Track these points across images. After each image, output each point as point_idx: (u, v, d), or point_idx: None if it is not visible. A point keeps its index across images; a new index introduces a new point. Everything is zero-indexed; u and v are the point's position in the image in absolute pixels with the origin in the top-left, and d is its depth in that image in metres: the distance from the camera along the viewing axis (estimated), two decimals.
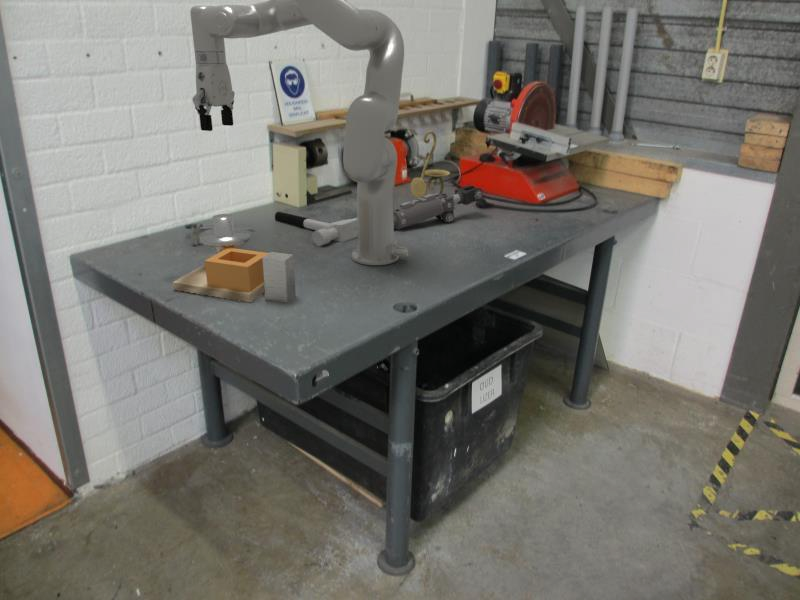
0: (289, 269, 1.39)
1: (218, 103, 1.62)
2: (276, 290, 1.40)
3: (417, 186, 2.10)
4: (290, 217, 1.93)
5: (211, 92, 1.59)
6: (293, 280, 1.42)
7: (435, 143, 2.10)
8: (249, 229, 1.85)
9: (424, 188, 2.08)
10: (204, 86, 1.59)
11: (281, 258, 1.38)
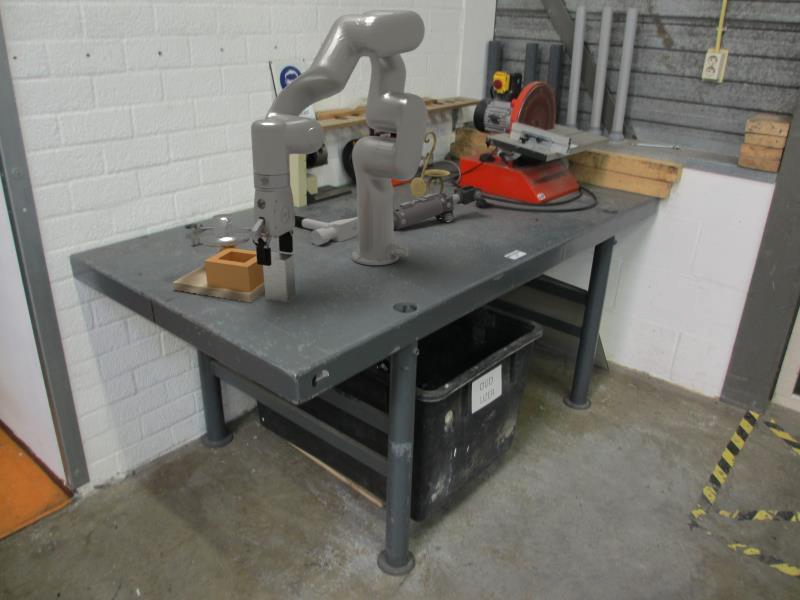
0: (289, 269, 1.39)
1: (279, 233, 1.33)
2: (275, 290, 1.40)
3: (417, 186, 2.10)
4: None
5: (273, 222, 1.30)
6: (293, 280, 1.42)
7: (435, 143, 2.10)
8: (249, 229, 1.85)
9: (424, 188, 2.08)
10: (264, 215, 1.30)
11: (281, 258, 1.38)
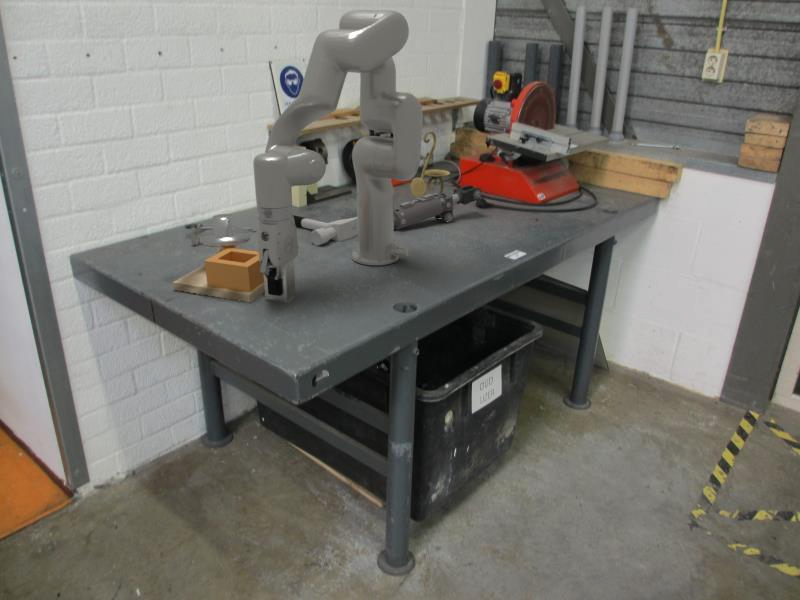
0: (289, 269, 1.39)
1: (283, 263, 1.36)
2: None
3: (417, 186, 2.10)
4: None
5: (276, 254, 1.33)
6: (293, 280, 1.42)
7: (435, 143, 2.10)
8: (249, 229, 1.86)
9: (424, 188, 2.08)
10: (268, 247, 1.33)
11: None
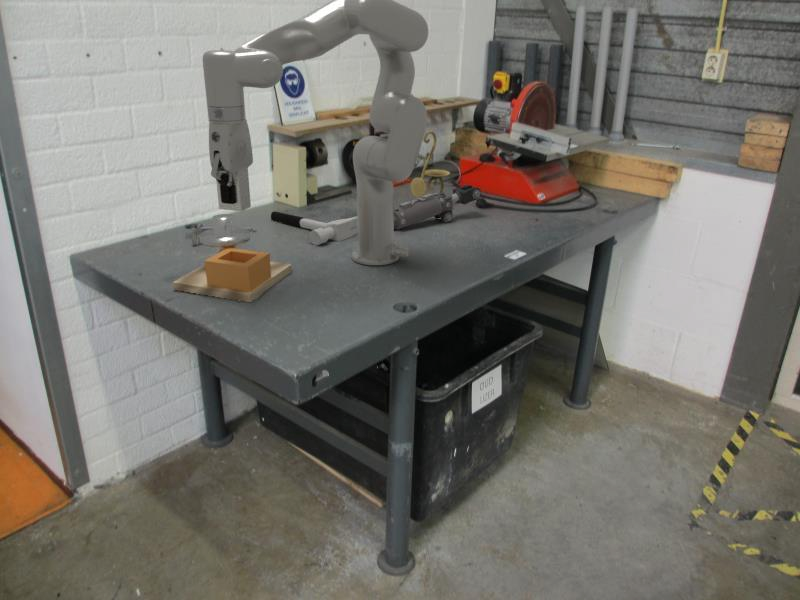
0: (242, 176, 1.35)
1: (235, 168, 1.32)
2: None
3: (417, 186, 2.10)
4: (286, 217, 1.93)
5: (228, 156, 1.29)
6: (247, 189, 1.38)
7: (435, 143, 2.10)
8: (249, 229, 1.86)
9: (424, 188, 2.08)
10: (219, 148, 1.29)
11: None
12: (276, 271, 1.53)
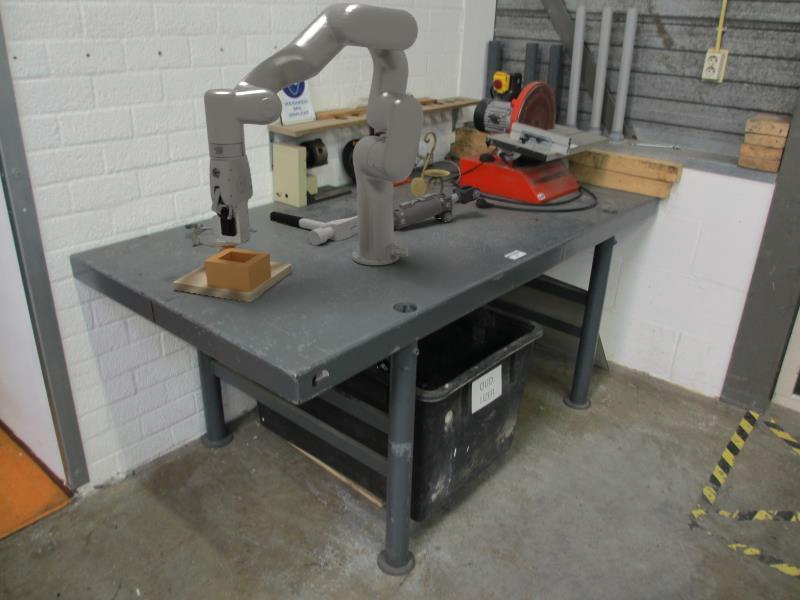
0: (242, 209, 1.38)
1: (235, 202, 1.35)
2: None
3: (418, 186, 2.10)
4: (285, 217, 1.93)
5: (228, 191, 1.32)
6: (247, 221, 1.41)
7: (435, 143, 2.10)
8: (250, 229, 1.86)
9: (424, 188, 2.08)
10: (219, 184, 1.32)
11: None
12: (276, 271, 1.53)
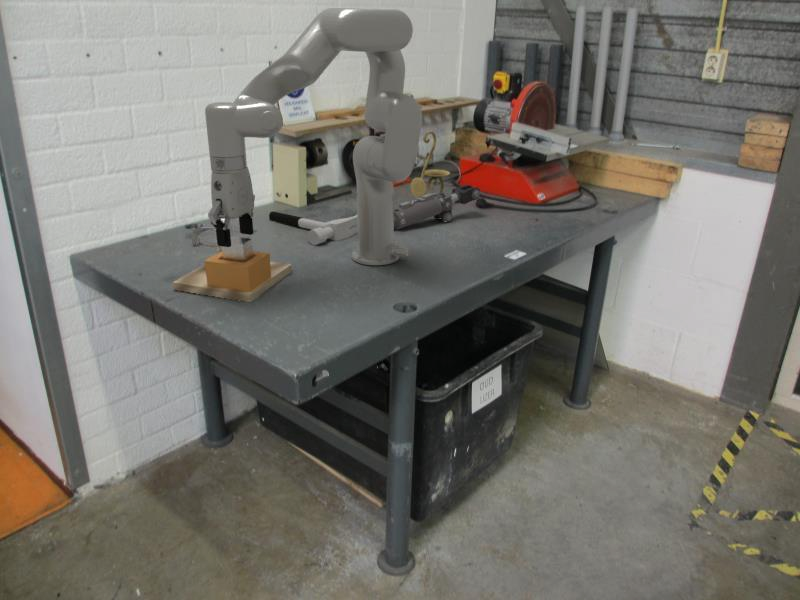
0: (247, 253, 1.42)
1: (237, 214, 1.36)
2: None
3: (417, 186, 2.10)
4: (284, 217, 1.93)
5: (229, 204, 1.34)
6: None
7: (435, 143, 2.10)
8: None
9: (424, 188, 2.08)
10: (221, 197, 1.33)
11: (239, 242, 1.41)
12: (276, 271, 1.53)
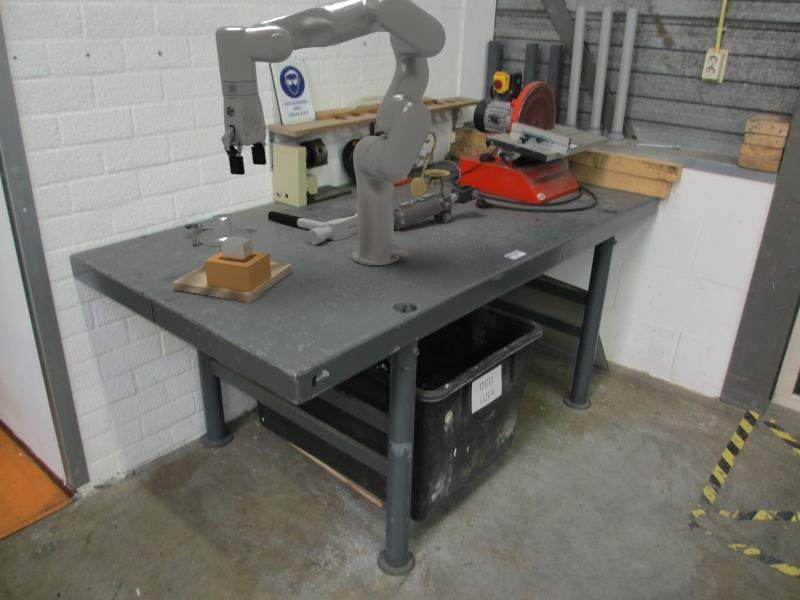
0: (247, 253, 1.42)
1: (250, 141, 1.36)
2: None
3: (417, 186, 2.10)
4: (283, 216, 1.93)
5: (243, 129, 1.33)
6: None
7: (435, 143, 2.10)
8: (250, 229, 1.86)
9: (424, 188, 2.08)
10: (234, 123, 1.33)
11: (239, 242, 1.41)
12: (276, 271, 1.53)
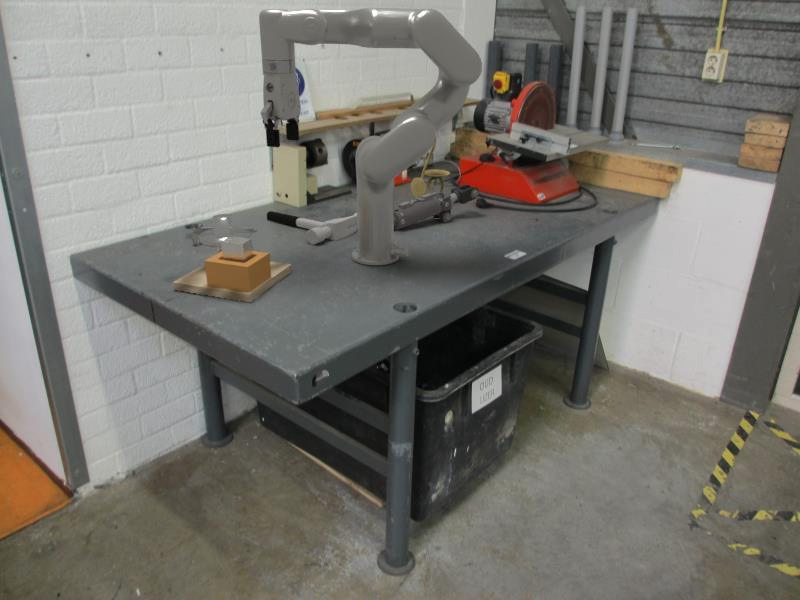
0: (247, 253, 1.42)
1: (286, 116, 1.47)
2: None
3: (417, 186, 2.10)
4: (282, 216, 1.93)
5: (280, 105, 1.44)
6: None
7: (435, 143, 2.10)
8: (250, 229, 1.86)
9: (424, 188, 2.08)
10: (273, 98, 1.44)
11: (239, 242, 1.41)
12: (276, 271, 1.53)
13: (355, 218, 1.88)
